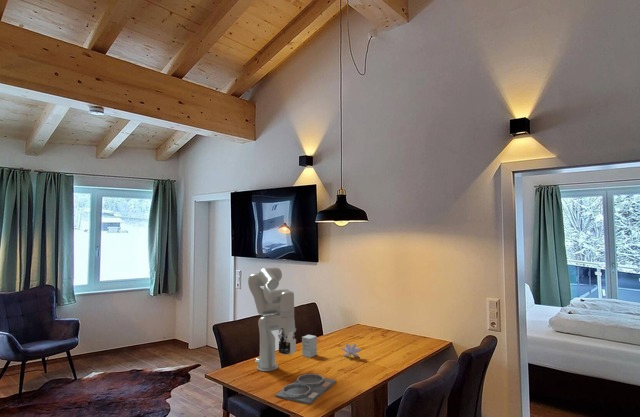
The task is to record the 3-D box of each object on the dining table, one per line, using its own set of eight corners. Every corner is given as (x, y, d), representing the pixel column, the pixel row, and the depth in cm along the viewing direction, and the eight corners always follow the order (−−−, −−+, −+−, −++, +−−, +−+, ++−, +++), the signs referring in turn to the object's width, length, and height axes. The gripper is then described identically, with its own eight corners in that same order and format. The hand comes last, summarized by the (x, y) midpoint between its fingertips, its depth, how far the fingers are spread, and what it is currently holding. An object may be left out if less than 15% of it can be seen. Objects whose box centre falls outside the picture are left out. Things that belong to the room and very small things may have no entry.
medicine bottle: (278, 354, 204) (278, 331, 205) (284, 350, 211) (284, 328, 212) (290, 355, 202) (290, 332, 202) (296, 351, 208) (296, 329, 209)
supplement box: (308, 353, 258) (308, 334, 259) (317, 355, 253) (317, 336, 254) (301, 355, 252) (301, 336, 253) (310, 358, 247) (309, 338, 248)
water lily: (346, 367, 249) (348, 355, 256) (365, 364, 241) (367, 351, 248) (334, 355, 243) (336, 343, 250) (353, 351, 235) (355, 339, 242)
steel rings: (277, 394, 189) (277, 391, 189) (305, 375, 215) (305, 372, 215) (301, 400, 182) (301, 396, 183) (327, 379, 208) (327, 376, 209)
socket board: (275, 396, 189) (275, 394, 189) (304, 376, 216) (304, 374, 216) (310, 404, 180) (309, 402, 180) (336, 382, 207) (336, 380, 207)
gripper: (290, 310, 217) (290, 341, 216) (272, 316, 202) (272, 350, 201) (301, 311, 214) (301, 343, 212) (284, 317, 198) (284, 351, 197)
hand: (287, 346), depth 206 cm, fingers closed on medicine bottle, 7 cm apart
